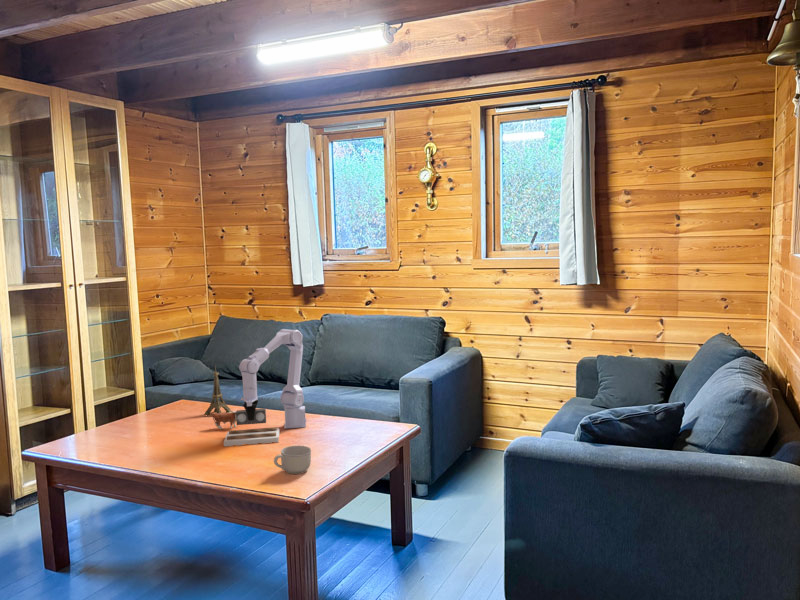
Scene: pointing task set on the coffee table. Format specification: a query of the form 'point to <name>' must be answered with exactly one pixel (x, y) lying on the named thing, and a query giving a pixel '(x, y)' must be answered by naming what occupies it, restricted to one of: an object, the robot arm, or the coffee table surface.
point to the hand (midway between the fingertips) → (251, 419)
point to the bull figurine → (225, 418)
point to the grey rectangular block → (258, 418)
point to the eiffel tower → (217, 398)
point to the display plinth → (252, 436)
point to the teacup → (294, 459)
